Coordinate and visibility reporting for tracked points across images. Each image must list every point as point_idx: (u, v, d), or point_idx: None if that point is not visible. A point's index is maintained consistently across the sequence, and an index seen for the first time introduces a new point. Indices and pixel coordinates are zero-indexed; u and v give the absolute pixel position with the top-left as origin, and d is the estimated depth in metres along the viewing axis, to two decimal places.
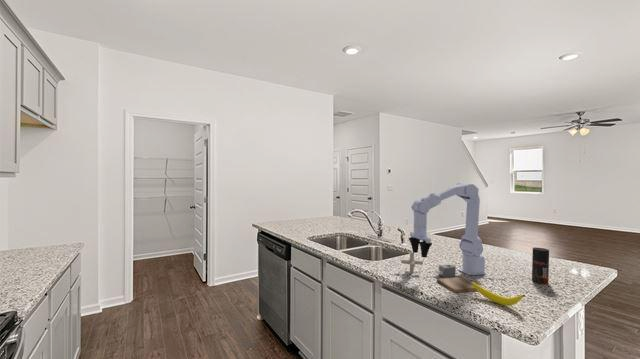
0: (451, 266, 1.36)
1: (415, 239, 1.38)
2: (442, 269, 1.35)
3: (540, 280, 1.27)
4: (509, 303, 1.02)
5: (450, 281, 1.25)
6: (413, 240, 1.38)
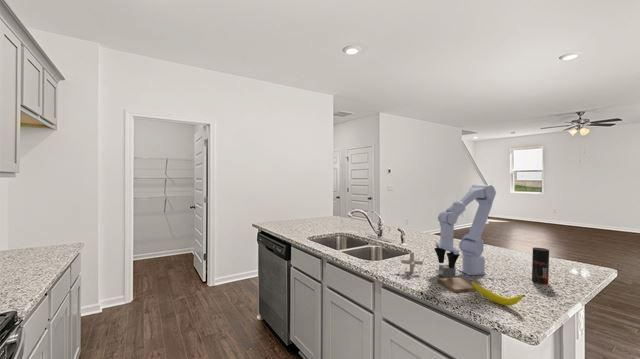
0: None
1: (441, 250, 1.39)
2: (442, 269, 1.35)
3: (540, 280, 1.27)
4: (509, 303, 1.02)
5: (450, 281, 1.25)
6: (439, 251, 1.39)
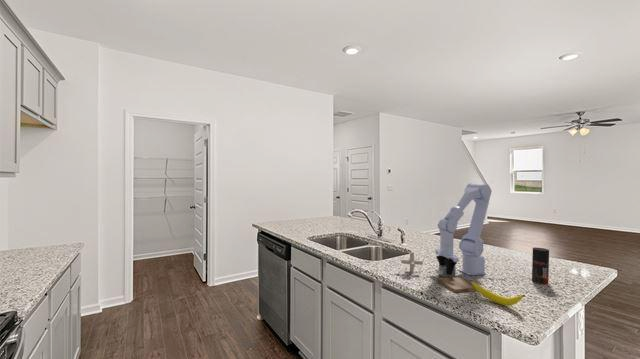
0: None
1: (443, 258, 1.38)
2: (442, 269, 1.35)
3: (540, 280, 1.27)
4: (509, 303, 1.02)
5: (450, 281, 1.25)
6: (441, 259, 1.38)
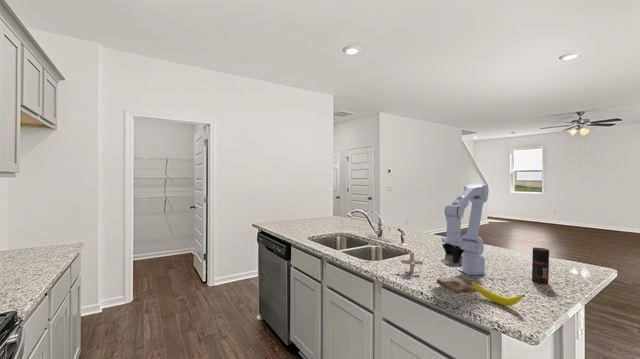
0: None
1: (449, 246, 1.30)
2: (448, 258, 1.27)
3: (540, 280, 1.27)
4: (509, 303, 1.02)
5: (450, 281, 1.25)
6: (447, 247, 1.30)
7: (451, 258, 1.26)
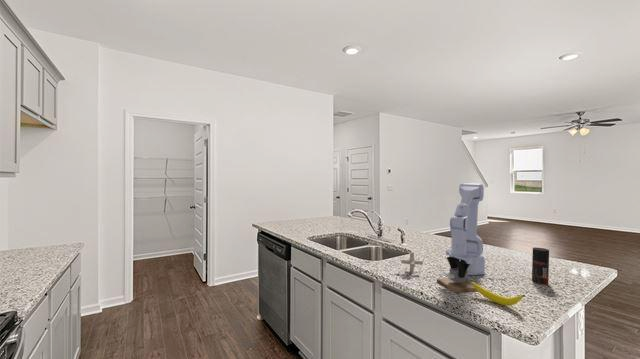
0: None
1: (454, 259, 1.25)
2: (453, 273, 1.22)
3: (540, 280, 1.27)
4: (509, 303, 1.02)
5: (450, 281, 1.25)
6: (452, 260, 1.25)
7: (456, 272, 1.21)
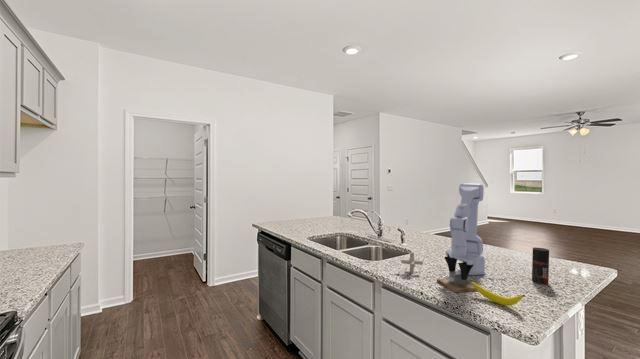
0: None
1: (452, 259, 1.27)
2: (453, 276, 1.22)
3: (540, 280, 1.27)
4: (509, 303, 1.02)
5: None
6: (450, 260, 1.27)
7: (456, 276, 1.21)
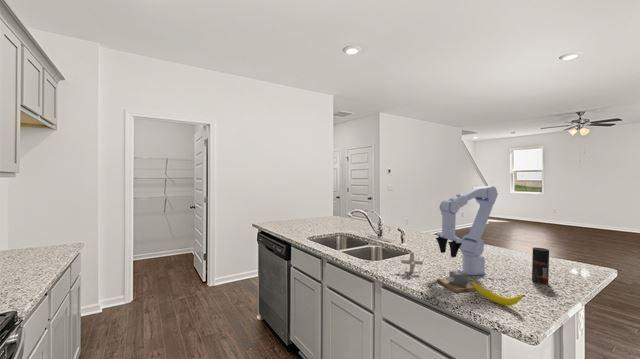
0: (463, 272, 1.23)
1: (443, 239, 1.38)
2: (453, 276, 1.22)
3: (540, 280, 1.27)
4: (509, 303, 1.02)
5: None
6: (441, 240, 1.38)
7: (456, 276, 1.21)
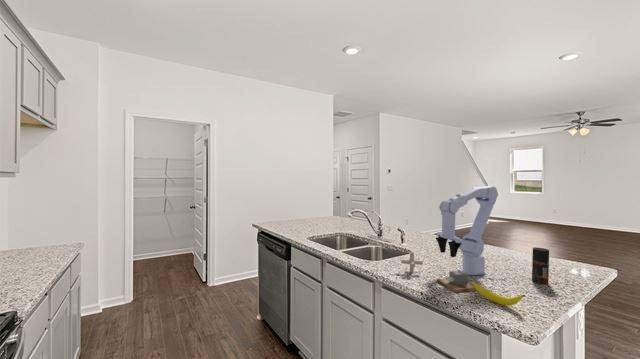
0: (463, 272, 1.23)
1: (443, 239, 1.38)
2: (453, 276, 1.22)
3: (540, 280, 1.27)
4: (509, 303, 1.02)
5: None
6: (441, 240, 1.38)
7: (456, 276, 1.21)
